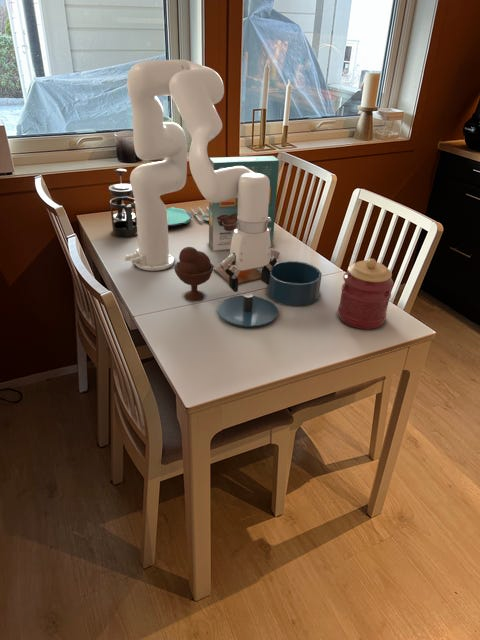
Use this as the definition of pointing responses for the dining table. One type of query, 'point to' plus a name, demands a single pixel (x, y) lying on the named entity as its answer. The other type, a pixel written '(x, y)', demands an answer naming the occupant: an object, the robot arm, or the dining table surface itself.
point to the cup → (242, 273)
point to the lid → (247, 310)
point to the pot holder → (252, 277)
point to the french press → (123, 219)
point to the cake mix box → (227, 211)
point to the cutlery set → (182, 216)
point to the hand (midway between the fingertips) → (249, 286)
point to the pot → (294, 283)
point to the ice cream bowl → (193, 271)
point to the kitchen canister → (365, 294)
